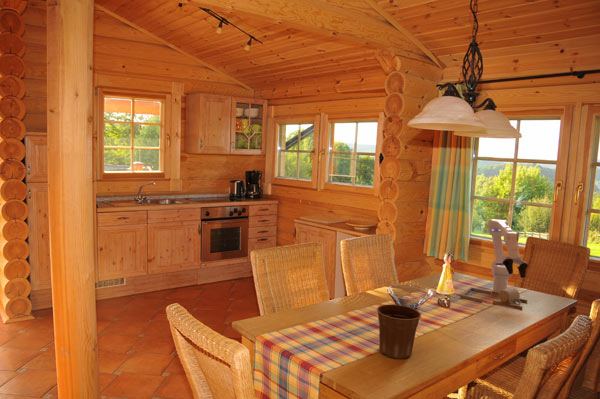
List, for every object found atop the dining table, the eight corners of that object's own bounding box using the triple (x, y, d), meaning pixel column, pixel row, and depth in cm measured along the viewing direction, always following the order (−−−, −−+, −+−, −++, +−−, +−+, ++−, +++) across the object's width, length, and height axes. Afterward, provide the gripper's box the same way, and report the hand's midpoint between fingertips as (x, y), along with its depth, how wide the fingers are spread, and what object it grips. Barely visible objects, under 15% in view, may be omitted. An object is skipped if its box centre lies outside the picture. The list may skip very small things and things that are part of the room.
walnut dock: (499, 296, 247) (499, 294, 247) (527, 302, 239) (527, 299, 239) (492, 303, 235) (493, 300, 235) (522, 309, 227) (522, 306, 227)
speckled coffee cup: (496, 300, 240) (498, 287, 239) (507, 299, 243) (509, 285, 242) (513, 307, 230) (514, 293, 229) (524, 306, 233) (526, 292, 233)
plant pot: (411, 343, 179) (414, 304, 177) (423, 362, 163) (426, 320, 161) (370, 342, 178) (373, 303, 177) (378, 361, 162) (381, 318, 160)
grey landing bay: (470, 289, 258) (470, 287, 258) (491, 293, 252) (491, 291, 252) (460, 297, 242) (460, 294, 242) (482, 302, 236) (482, 299, 235)
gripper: (507, 245, 233) (511, 269, 226) (530, 252, 237) (534, 276, 229) (498, 250, 239) (501, 274, 232) (520, 257, 243) (523, 280, 235)
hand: (517, 275), depth 231 cm, fingers open, 7 cm apart
